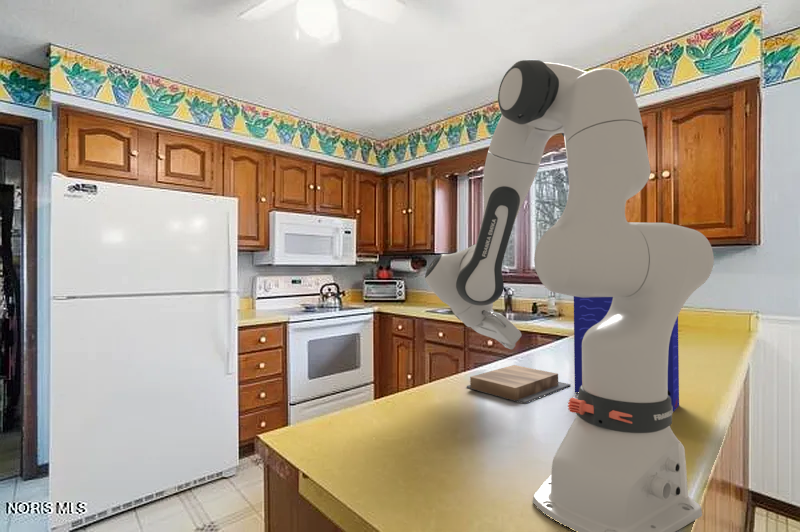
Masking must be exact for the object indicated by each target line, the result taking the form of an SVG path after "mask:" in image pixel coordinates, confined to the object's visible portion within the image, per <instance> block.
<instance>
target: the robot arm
mask: <svg viewBox="0 0 800 532" xmlns="http://www.w3.org/2000/svg"><path fill="white" fill-rule="evenodd" d="M629 82H630V81H629V80H628V78H627V77H626V76H625V75H624V73H622V72H621V71H619V70H618V69H614V68H609V67H608V68H607V67H606V68H604V67H603V68H596V69H592V70H589V71H588V72H587V71H585V70H581V69H579V68H575V67H574V66H572V65H567V64H561V63H554V62H547V61H546V62H544V61H542V60H539V59H523V60H519V61H517V62H515V63H513V64H512V65H511V66H510V67H509V68H508V70H507V71H506V72H505V74H504V75H503V77H502V79H501V81H500V85H499V89H498V94H497V104H498V107H499V111H500V113H501V117H500V118H499V120H498V122H497V125H496V127H495V129H494V133H493V135H492V138H491V141H490V144H489V148H488V151H487V154H486V157H485V164H484V169H483V179H482V180H483V181H482V189H483V190H482V191H483V215H482V220H481V224H480V229H479V232H478V236H477V239H476V243H474V244H472V245H470V246H469V247H468V248H464V249H462V250H460V251H457V252H453V253H441V254H439V255H438V256H436V257H435V258H434V259H433V260H432V261H431V263H430V264H429V265H428V267H427V270H426V272H425V275H424V278H425V279H424V280H425V283H426V284H427V286H428V287H429V288H430V290H431V292H433V293H434V294H435V295H436V297H437V298H438V299H439V300H440V301H441V302H442V303H444V304H446V305H447V306H449V308H450V310H451V311H452V313H453V315H454V316H455V317H456V318H457V319H458V320H460V321H461V322H462V323H463V324H464V325H465V326H466V327H468V328H471V329H472V330H473V331H474V332H476V333H478V334H480V335H482V336H485V337H488V338H491V339H494V340H496V341H497V342H498V343H500V344H501V345H502V346H503V347H504V348H506V349H509V350H514V348H515V347H516V344H517V342H518V341H519V340H520V338H521V337H522V332H521V330H519V328H517V326H515V324H513V322H511V321H510V320H509V319H508V318H507V317H505V316H504V314H502V313H499V312H497V311H494V309H493V307H494V303H495V302H496V301H498V300H499V299H500V298H501V296H502V295H503V293H504V288H505V287H504V286H505V284H504V283H505V282H504V278H503V277H504V276H503V261H504V258H505V254H506V250H507V248H508V245H509V242H510V241H509V240H510V239H511V238H510V237H511V234H512V232H513V228H514V224H515V221H516V219H517V217H518V215H519V213H520V210H521V208H522V206H523V204H524V202H525V200H526V197H527V195H528V194H529V191H530V189H531V187H532V185H533V183H534V181H535V178H536V175H537V173H538V171H539V168H540V165H541V164H540V163H541V162H542V158H543V155H544V152H545V148H546V146H547V143H548V141H549V140H550V138H552V137H553V136H555V135H558V134H561V135H562V136H563V138H564V145H565V146H564V147H565V153H566V164H567V171H568V172H567V173H568V197H567V201H566V204H565V206H564V207H565V208H564V210H563V212H562V214H561V216H559V219H558V220H556V222H555V223H554V224H553V225H552V226H551V227H550V228H548V229H547V230H546V231H545V232H544V233H543V235H542V236H541V238H540V239H539V241H538V243H537V245H536V248H535V251H534V259H533V260H534V261H533V262H534V268H535V272H536V275H537V277H538V279H539V281H540V283H542V285H543V286H544V287H545V288H546V289H547V290H548V291H549V292H552V293H555V294H561V295H566V296H571V297H574V296H576V297H582V298H588V297H613V300H612V304H611V307H610V309H609V311H608V313H607V314H606V316H605V317H604V318H603V319H602V320H601V321H600V322H599V323H597V324H595V325H594V326H592V327H591V328H590V329H589V330H588V331H587V332H586V333H585V335H584V337H583V340H582V385H581V386H580V389H579V393H577V396H576V397H570V398H569V401H568V402H567V403H568V405H567V407H568V408H567V409H568V410H569V411H568V412H571V413H575V414H576V415H575V416H576V417H575V418H574V420H573V422H572V424H571V425H570V426H569V429H568V430H567V432H566V434H565V436H564V437H563V440H562V441H561V443H560V445H559V447H558V448H557V451H556V452H555V454H554V456H553V459H552V464H551V471H550V472H551V473H550V474H549V476H548V477H547V478H546V479H545V480H544V481H543V483H542V484H541V485H540V486H539V487H538V488H537V490H536V491H535V492H534V494H533V495H532V504H533V503H534V504H535V505H536V506H537V507H538V508H539V509H540V510H541V511H542V512H544V513H545V514H547V515H549V516H550V517H552V518H553V519H555V520H557V521H559V522H560V523H562V524H563V525H566V526H568V527H570V528H572V529H574V530H575V531H578V532H677V531H679V530H680V529H682V528H684V527H685V526H688V525H689V524H691V523H692V522H694V521H696V520H698V519H699V518H701V517H702V516H703V512H702V506H701V504H700V503H698V502H697V501H695V500H694V499H693V498H691V497H690V496H689V489H688V487H689V486H688V475H687V474H688V473H687V462H686V449H685V447H684V445H683V443H682V442H681V441H680V440H679V439H678V437H677V436H676V435H675V433H674V432H673V430H672V427H671V425H672V423H673V413H674V412H673V408H672V405H671V398H670V396H669V395H668V350H669V342H670V337H671V333H672V330H673V327H674V324H675V321H676V319H677V317H678V318H679V315H680V312H681V310H682V309H683V306H684V305H685V303H686V301H688V299H689V297H690V296H691V295H692V294H693V293H694V292H695V291H697V290H698V289H699V288H701V287H702V286H703V285H704V284H705V283H706V282H707V281H708V280H709V278H710V276H711V274H712V271H713V267H714V264H715V263H714V262H715V261H714V260H715V258H714V257H715V256H714V251H713V247H712V245H711V243H710V241H709V240H708V238H707V237H706V236H705V235H704V234H703V233H702V232H701V231H699V230H696V229H694V228H689V227H687V226H682V225H678V224H673V223H669V222H641V221H640V222H635V221H634V222H630V221H629V222H628V220H627V217H626V204H627V201H628V200H629V199H631V198H633V197H634V196H636V195H637V194H638V193H640V192H641V191H642V190H643V189H644V187H645V186H646V184H647V183H648V181H649V179H650V178H651V165H650V159H649V153H648V148H647V142H646V136H645V131H644V125H643V120H642V117H641V113H640V112H641V111H640V108H639V106H638V103H637V99H636V96H635V94H634V92H633V88H632V87H631V85H630V83H629ZM534 504H533V505H534ZM535 505H534V506H535ZM536 506H535V507H536ZM537 507H536V508H537ZM538 508H537V509H538ZM539 509H538V510H539ZM540 510H539V511H540ZM541 511H540V512H541ZM542 512H541V513H542ZM545 514H544V515H545Z"/></svg>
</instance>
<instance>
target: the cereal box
mask: <svg viewBox="0 0 800 532" xmlns="http://www.w3.org/2000/svg"><path fill="white" fill-rule="evenodd" d="M612 300H613V297H588V298H582V297H576V296H573V342H574V343H573V350H574V352H573V353H574V354H573V357H574V360H573V361H574V393H575V392H579V389H580V386H581V385H582V340H583V337H584V335H585V333H586V332H587V331H588V330H589V329H590V328H591V327H592V326H594V325H595V324H597V323H599V322H600V321H601V320H602V319H603V318H604V317H605V316H606V314H607V313H608V311H609V309H610V307H611V304H612ZM679 357H680V356H679V316H678V317H677V319H676V321H675V324H674V327H673V330H672V333H671V337H670V342H669V350H668V395H669V396H670V398H671V405H672V408H673V413H674V412H675V411H676V410H677V409H678V407H679V406H680V369H679V367H680V366H679V364H680V363H679V361H680V360H679Z"/></svg>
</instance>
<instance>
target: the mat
mask: <svg viewBox="0 0 800 532" xmlns="http://www.w3.org/2000/svg"><path fill="white" fill-rule="evenodd" d="M568 386H570V387H571V384H570V383H566V382H561V381H558V385H556V386H554V387H551V388H548V389H546V390H543V391H540V392H537V393H535V394H532V395H529V396H527V397H524V398H521V399H518V400H514V402H517V401H518V403H520V402H522V403H521V404H524V403H526V404H528V403H530V402H529V401H531V402H533V401H532V400H534V399H536V400H538V399H537V398H539V397H541V398H543V397H542V396H544V395H546V396H548V395H547V394H549V393H552V392H554V393H556V392H555V391H557V392H559V391H561V390H560V389H562V390H564V389H563V388H565V387H567V388H569V387H568ZM466 389H470V390H474V391H478V392H481V393H485V394H488V395H491V394H490V393H486V392H483V391H479V390H475V389H472V388H470V384H469V385H466ZM565 389H566V388H565ZM558 390H559V391H558ZM552 394H553V393H552ZM492 395H493V396H496V397H499V398H503V399H506V400H509V401H513V400H512V399H508V398H505V397H501V396H497V395H494V394H492ZM549 395H550V394H549ZM544 397H545V396H544ZM539 399H540V398H539ZM534 401H535V400H534ZM527 402H528V403H527Z"/></svg>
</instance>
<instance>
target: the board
mask: <svg viewBox="0 0 800 532" xmlns="http://www.w3.org/2000/svg"><path fill="white" fill-rule="evenodd" d="M558 382H559V373H557V372H552V371H546V370H541V369H536V368H531V367H525V366H522V365H521V366H520V365H515V364H512V365H508V366H505V367H501V368H498V369H494V370H490V371H487V372H483V373H480V374H476V375H472V376H470V381H469V383H470V384H469V385H470V388H472V389H471V390H473V389H475V390H474V391H477V390H479V391H478V392H480V391H483V392H482V393H484V392H486V393H485V394H488V393H490V394H489V395H491V394H494V395H493V396H495V395H497V396H496V397H499V396H501V397H500V398H502V397H505V398H504V399H506V398H508V399H507V400H509V399H512V400H511V401H513V400H518V399H521V398H524V397H527V396H529V395H532V394H535V393H537V392H540V391H543V390H546V389H548V388H551V387H554V386H556V385H558Z"/></svg>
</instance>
